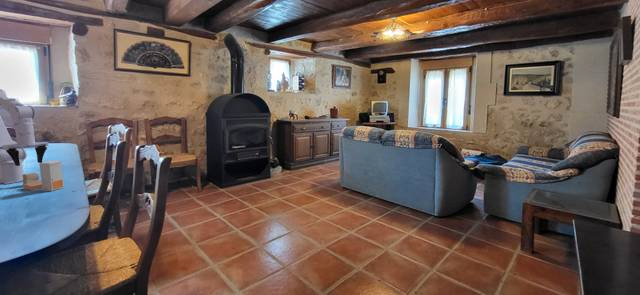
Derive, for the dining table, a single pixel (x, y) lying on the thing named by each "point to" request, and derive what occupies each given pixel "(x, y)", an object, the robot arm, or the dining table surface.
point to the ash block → (30, 178)
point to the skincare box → (51, 175)
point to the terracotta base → (33, 186)
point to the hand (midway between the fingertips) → (29, 164)
